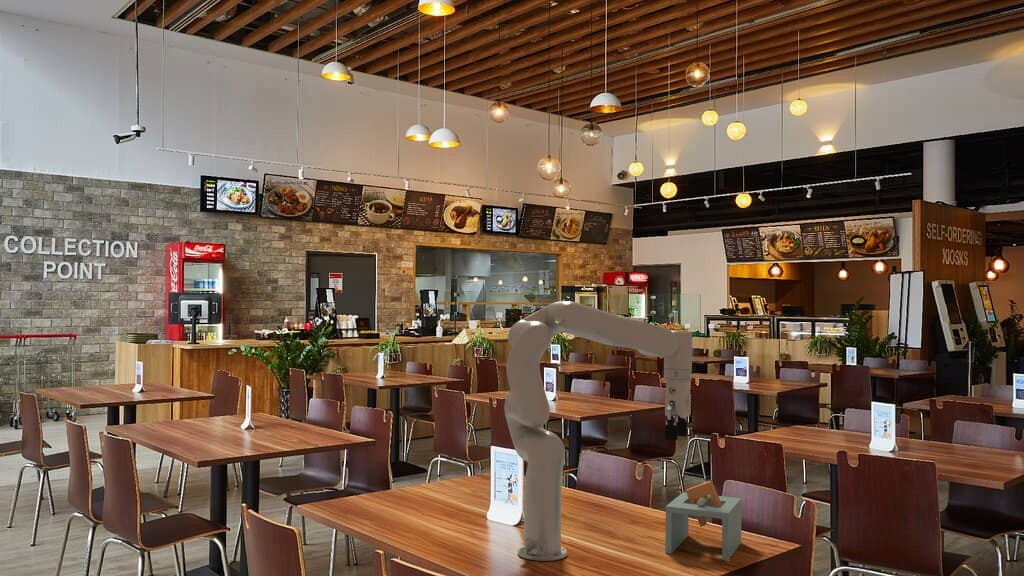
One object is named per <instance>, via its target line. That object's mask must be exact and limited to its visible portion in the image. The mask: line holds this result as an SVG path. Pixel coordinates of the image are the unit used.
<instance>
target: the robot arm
mask: <svg viewBox="0 0 1024 576" xmlns="http://www.w3.org/2000/svg"><path fill="white" fill-rule="evenodd" d="M560 333H562V334H568V335H571V336H574V337H578V338H581V339H585V340H589V341H592V342H596V343H599V344H603V345H607V346H611V347H612V346H613V347H622V348H629V349H634V350H637V352H639V353H640V354H641V355H644V356H646V357H657V358H663V380H664V381H666V385H665V396H664V399H665V400H664V401H665V402H664V414H665V433H664V434H665V440H668V441H677V440H678V437H687V436H688V417H689V416H690V415H691V413H692V412H691V411H692V406H691V405H692V404H691V403H692V402H691V385H690V382H692V379H693V377H692V373H693V367H692V366H693V334H692V333H691V331H688V330H671V329H669V328H666V327H662V326H659V325H656V324H652V323H649V322H645V321H641V320H637V319H633V318H629V317H626V316H624V315H620V314H615V313H612V312H609V311H605V310H602V309H598V308H595V307H592V306H588V305H585V304H582V303H579V302H575V301H571V300H570V301H567V300H566V301H565V300H564V301H555V302H552V303H550V304H548V305H546V306H545V307H542V308H541V309H539V310H537V311H535V312H533V313H532V314H530V315H528V316H526V317H524V318H522V319H520V320H517V322H515V323H514V324H513V325H512V326H511V327H510V329H509V330H508V333H507V334H508V335H507V339H508V343H509V346H510V347H511V348H510V350H509V353H508V356H507V359H506V360H507V361H506V364H505V365H506V367H505V368H506V377H507V380H508V386H509V389H510V390H509V391H510V392H509V393H508V395H507V396H506V398H505V402H504V407H503V409H504V417H505V420H506V423H507V427H508V430H509V434H510V438H511V441H512V444H513V446H514V447H513V448H514V450H515V452H516V454H517V455H518V456H519V457H520V459H522V460H523V461H525V462H527V467H526V473H525V479H524V515H523V516H524V519H523V520H524V524H523V527H524V529H523V531H524V532H523V545H520V546H519V547H518V548H517V555H519V556H520V557H521V558H522V559H526V560H530V561H537V562H549V561H550V562H551V561H552V562H553V561H558V560H561V559H564V558H566V557H567V555H568V550H567V549H566V547H564V546H562V492H563V491H562V481H563V470H564V464H565V458H566V457H565V456H566V450H565V445H564V443H563V441H562V439H561V438H560V437H559V436H558V435H557V434H556V433H554V432H552V431H550V430H547V429H545V427H544V425H545V424H547V422H548V421H549V418H550V413H551V410H550V404H549V400H548V397H547V393H546V389H545V387H544V383H543V379H542V374H541V369H540V367H541V366H540V364H541V359H542V357H543V355H544V354H545V352H546V351H547V350H548V348H550V347H549V346H550V345H551V342H552V339H553V338H554V337H555V336H557V335H558V334H560Z"/></svg>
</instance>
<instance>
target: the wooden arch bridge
mask: <svg viewBox="0 0 1024 576" xmlns="http://www.w3.org/2000/svg"><path fill="white" fill-rule="evenodd" d="M685 492H686V493H687V496H688V498H689V500H690V503H689V504H696V505H697V501H698V500H697V499H699V498H702V497H705V496H708V495H710V496H711V499H712V501H713V503H714V507H721V506H722V503H721V501H720V499H719V496H720V495H719V493H718V492H717V489H716V487H715V484H714V483H713V480H709V481H706V482H704V483H701V484H697V485H695V486H692V487H688V488H686V490H685ZM695 517H696V519H697V521H698V524H699V527H700V528H701V527H705V526H706V525H707V524H708V522H707V519H706V517H704V516H695ZM719 520H720V521H722V519H721V518H719Z"/></svg>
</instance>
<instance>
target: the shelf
mask: <svg viewBox="0 0 1024 576" xmlns="http://www.w3.org/2000/svg"><path fill="white" fill-rule="evenodd" d="M718 496H719V499H720V501H721V503H722V506H721V507H715V506H714V503H713V501H712V499H711V496H710V495H708V496H705V497H702V498H699V499H697V500H698V501H697V505H696V504H691V503H690V500H689V498H688V496H687V493H686V491H685V492H684V491H683V492H682V493H681V494H680V495H678V496H677V497H676V498H674V499H673V500H672V501H670V502H669V503H668V504H666V506H665V550H664V551H665V554H670V555H671V554H673V552H674V551H675V550H676V549H677V548H679V546H680V545H681V544H683V542H684V541H685V540H686V539H687V538H688V537H689V528H690V527H689V526H690V525H689V521H690V520H689V517H690V516H695V517H696V516H704V517H705V518H714V519H720V518H721V519H722V520H721V552H722V553H721V560H724V561H723V562H729V561H730V560H729V559H731V558H732V557H733V555H734V554H735V552H736V551H737V550H738V548H739V547H740V545H741V544H742V498H741V497H734V496H733V497H732V496H723V495H718ZM733 553H734V554H733ZM731 556H732V557H731ZM730 557H731V558H730ZM728 560H729V561H728Z"/></svg>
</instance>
